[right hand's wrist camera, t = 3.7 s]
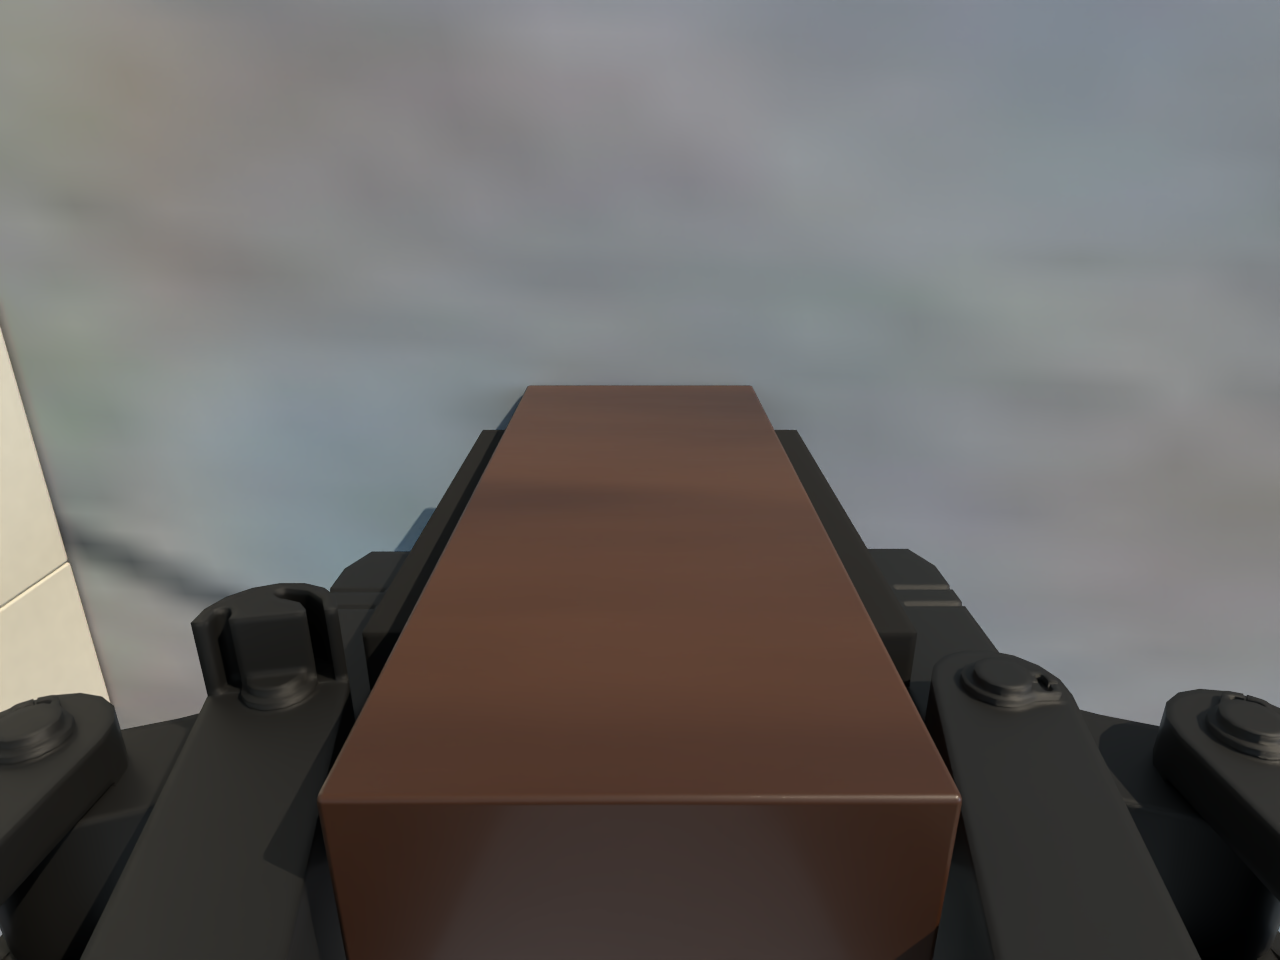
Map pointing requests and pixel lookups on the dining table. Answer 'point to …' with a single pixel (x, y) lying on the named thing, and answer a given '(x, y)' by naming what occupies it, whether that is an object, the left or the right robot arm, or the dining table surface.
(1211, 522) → the dining table surface
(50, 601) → the peg board
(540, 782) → the peg
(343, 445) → the dining table surface
